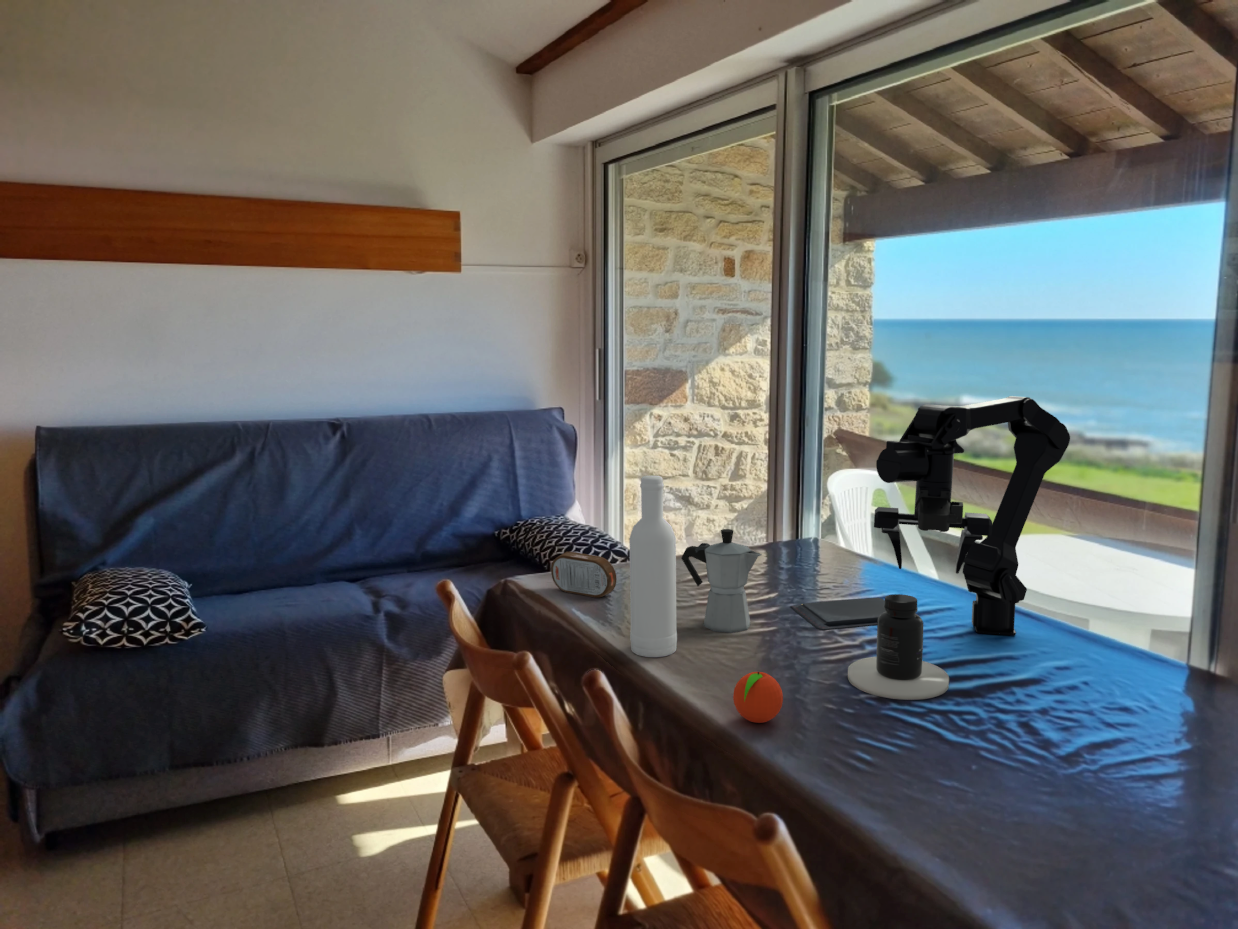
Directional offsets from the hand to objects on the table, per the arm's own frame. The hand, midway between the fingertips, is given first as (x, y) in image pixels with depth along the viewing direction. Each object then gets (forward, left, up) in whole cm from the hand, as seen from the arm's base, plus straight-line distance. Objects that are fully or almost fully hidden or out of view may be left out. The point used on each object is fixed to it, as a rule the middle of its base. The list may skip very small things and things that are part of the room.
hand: (928, 570), depth 161 cm
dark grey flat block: (+13, -14, -14) cm, 24 cm away
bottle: (+45, +13, -13) cm, 49 cm away
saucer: (+5, +18, -13) cm, 23 cm away
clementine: (+24, +39, -13) cm, 47 cm away
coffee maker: (+36, -3, -13) cm, 38 cm away
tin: (+67, -16, -13) cm, 70 cm away
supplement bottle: (+5, +18, -12) cm, 22 cm away
